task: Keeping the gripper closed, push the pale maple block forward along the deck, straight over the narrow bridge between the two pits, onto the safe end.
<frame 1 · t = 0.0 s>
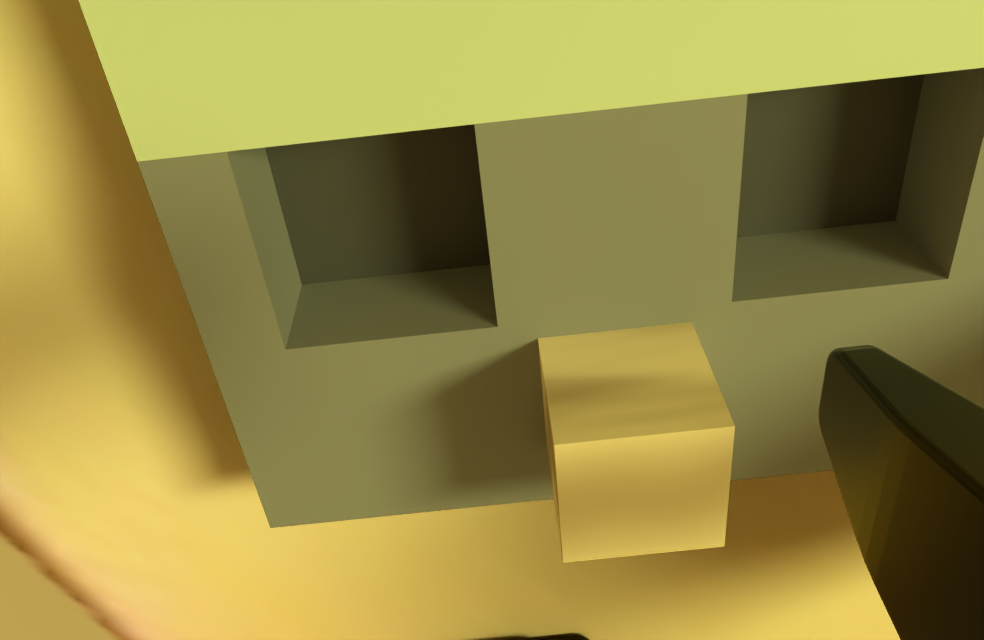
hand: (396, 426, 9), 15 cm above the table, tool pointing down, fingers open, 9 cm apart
maple block: (615, 389, 23), point 3 cm above the table, touching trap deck
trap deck: (592, 166, 23), on the table
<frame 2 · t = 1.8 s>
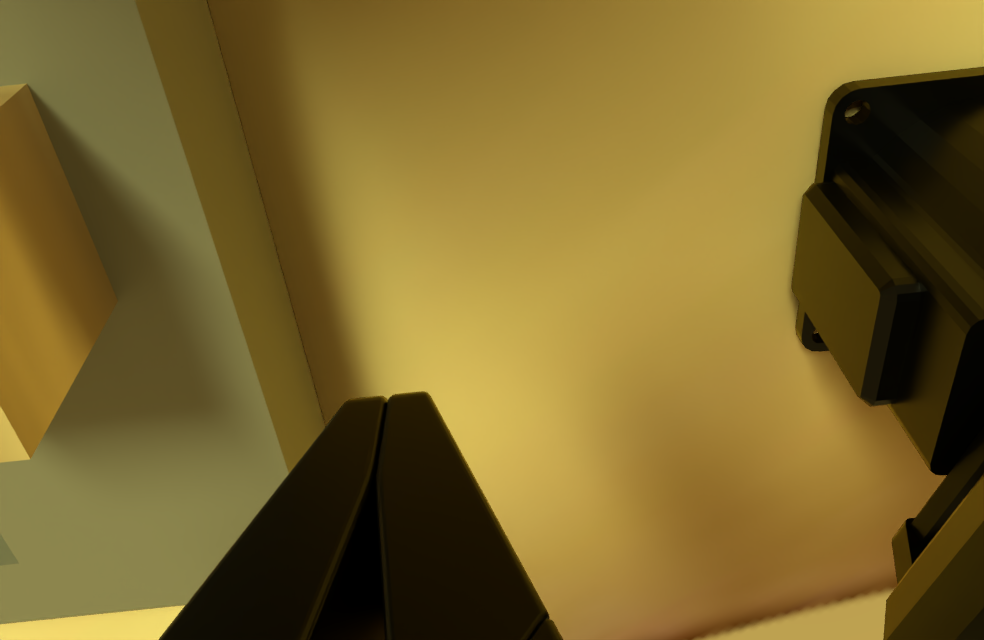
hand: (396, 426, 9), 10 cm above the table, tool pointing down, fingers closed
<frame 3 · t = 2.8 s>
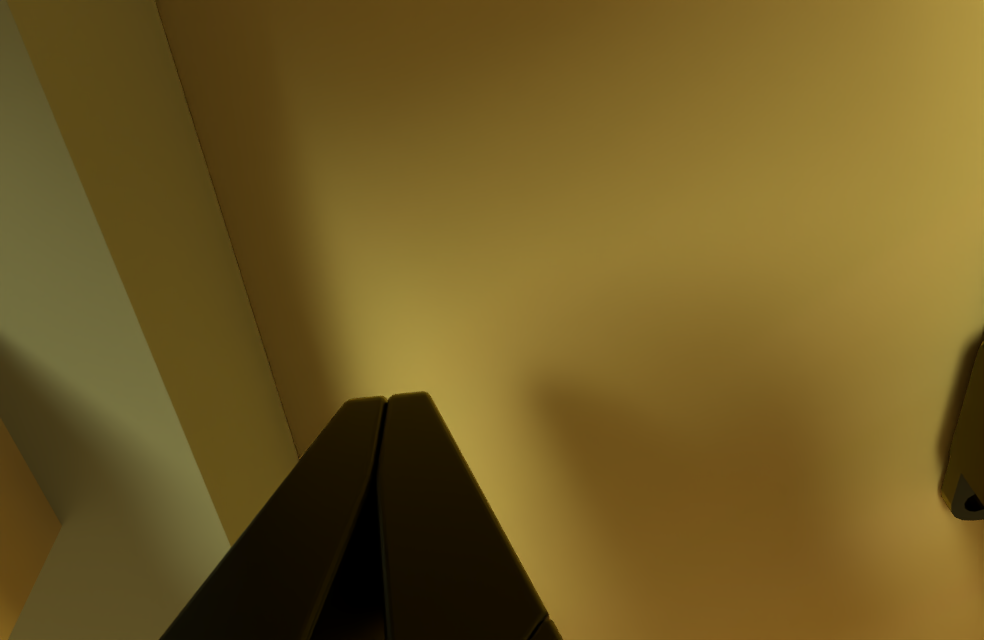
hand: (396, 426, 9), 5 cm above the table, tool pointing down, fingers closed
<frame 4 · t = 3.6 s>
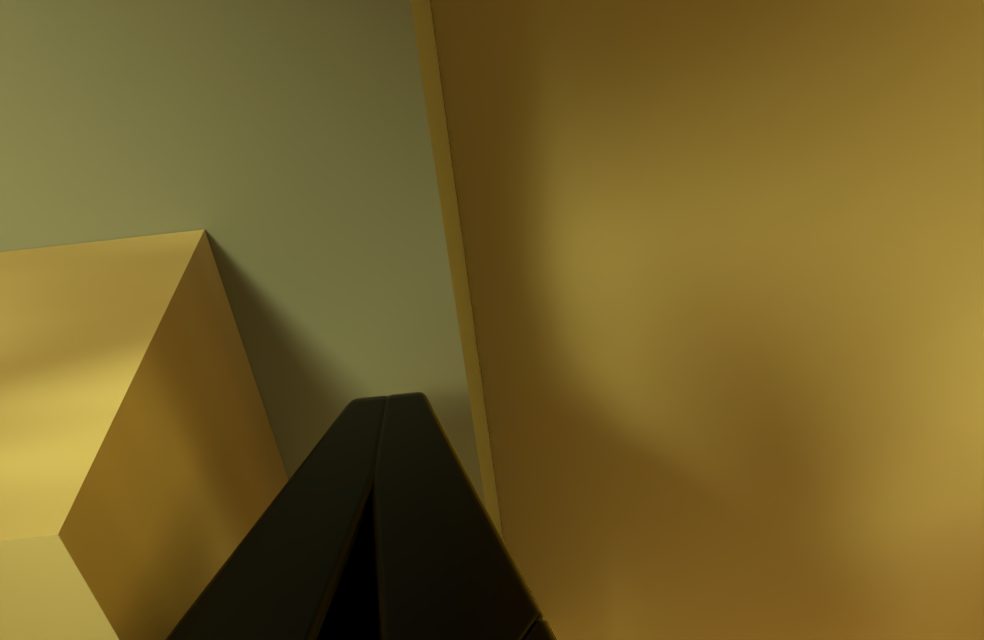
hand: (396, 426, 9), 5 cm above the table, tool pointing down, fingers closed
maple block: (84, 399, 10), point 4 cm above the table, touching gripper, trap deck
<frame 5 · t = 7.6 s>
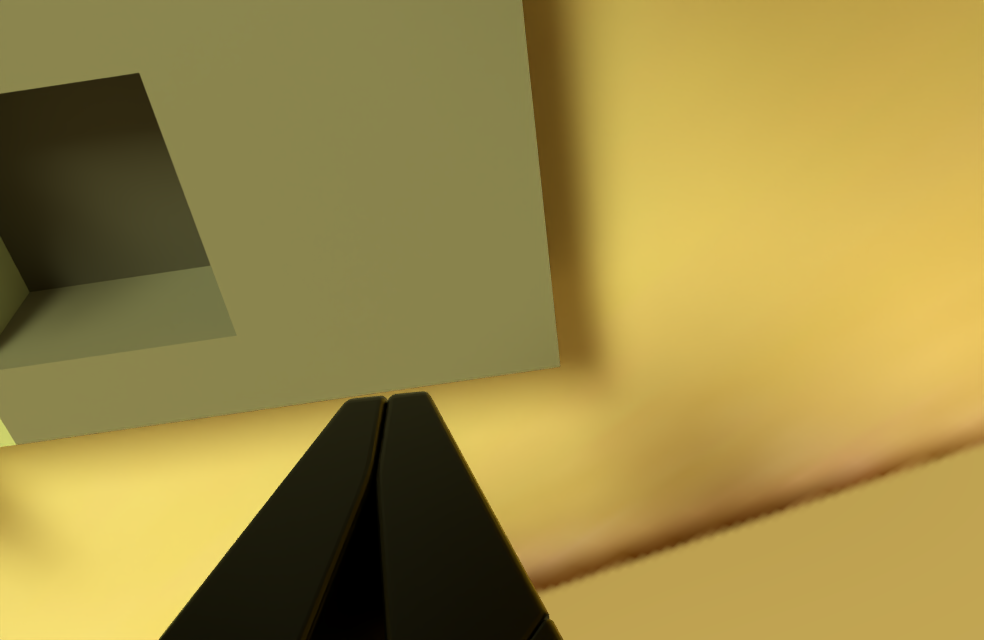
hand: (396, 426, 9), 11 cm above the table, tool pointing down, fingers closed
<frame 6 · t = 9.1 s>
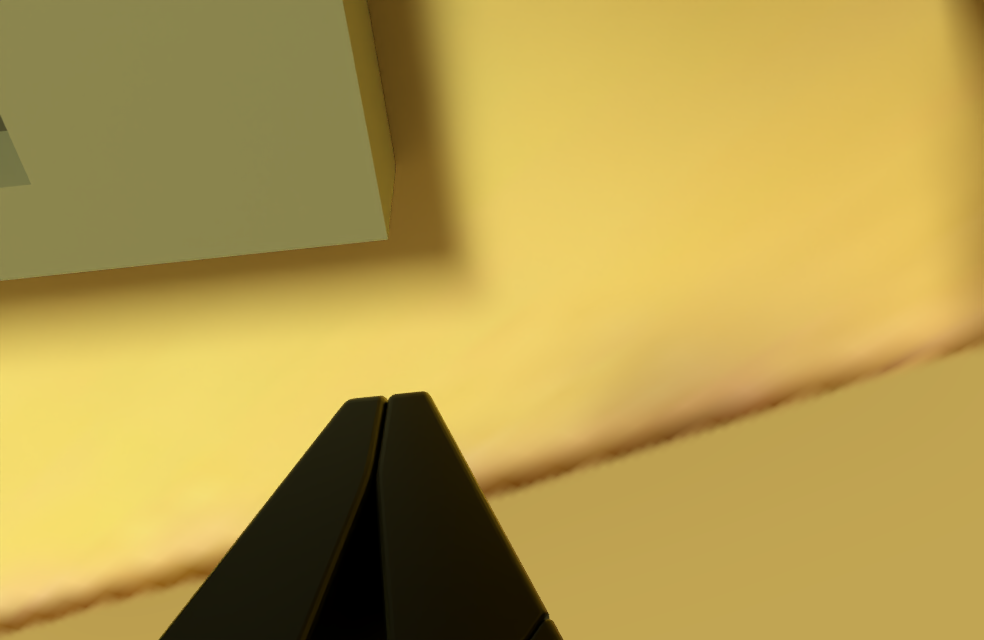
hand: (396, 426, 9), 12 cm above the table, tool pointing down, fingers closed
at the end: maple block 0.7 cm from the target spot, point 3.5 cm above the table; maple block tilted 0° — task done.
